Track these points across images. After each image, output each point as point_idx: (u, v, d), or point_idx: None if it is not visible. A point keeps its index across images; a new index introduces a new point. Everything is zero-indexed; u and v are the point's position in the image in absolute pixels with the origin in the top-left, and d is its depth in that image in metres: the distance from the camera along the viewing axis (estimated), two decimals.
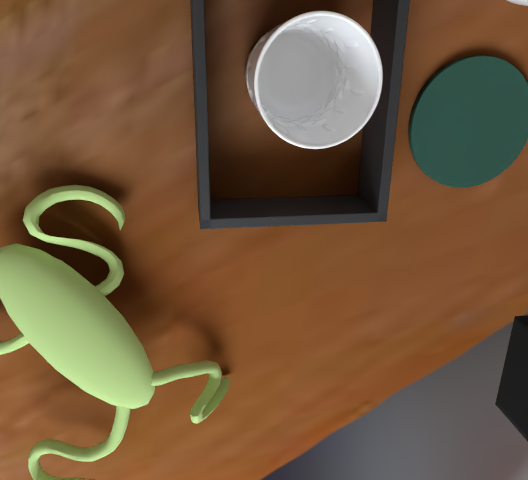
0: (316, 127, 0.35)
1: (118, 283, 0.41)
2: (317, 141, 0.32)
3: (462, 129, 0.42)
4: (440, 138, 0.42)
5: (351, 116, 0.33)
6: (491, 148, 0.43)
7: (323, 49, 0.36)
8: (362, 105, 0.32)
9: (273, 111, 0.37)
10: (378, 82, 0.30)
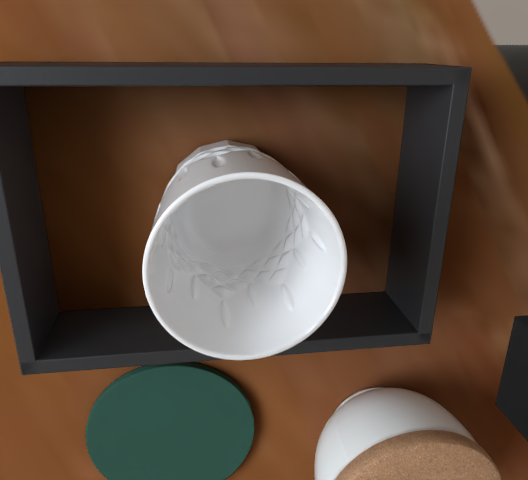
0: (167, 259, 0.23)
1: None
2: (153, 275, 0.19)
3: (165, 425, 0.33)
4: (151, 402, 0.32)
5: (191, 315, 0.22)
6: (142, 463, 0.33)
7: (266, 249, 0.27)
8: (210, 331, 0.21)
9: None
10: (248, 354, 0.20)
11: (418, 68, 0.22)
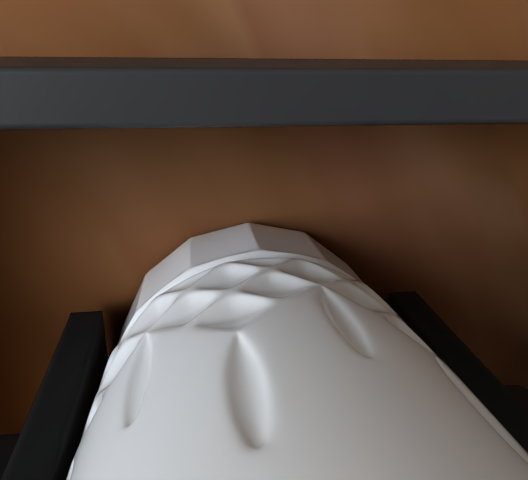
0: None
1: None
2: None
3: None
4: None
5: None
6: None
7: None
8: None
9: None
10: None
11: None
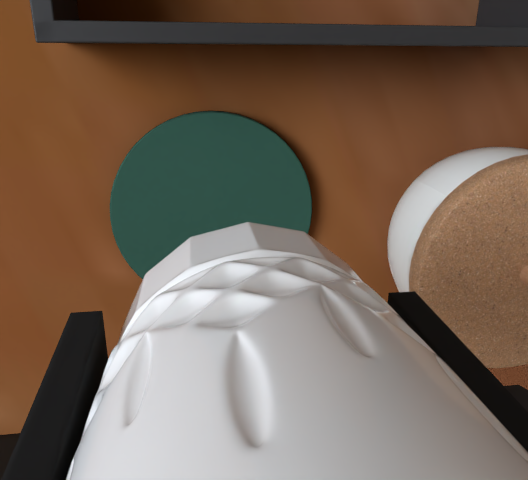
0: None
1: None
2: None
3: (206, 199, 0.27)
4: (190, 164, 0.26)
5: None
6: None
7: None
8: None
9: None
10: None
11: None
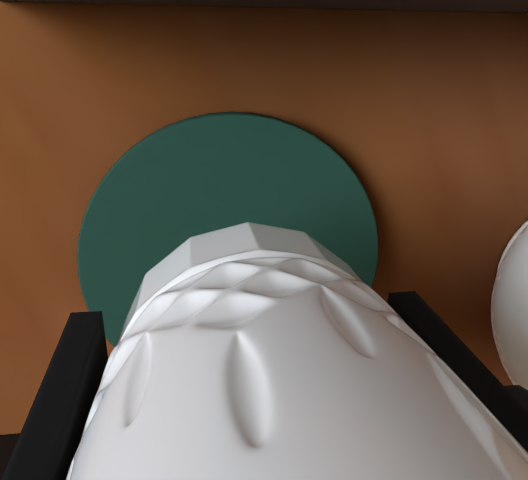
0: None
1: None
2: None
3: None
4: (200, 194, 0.17)
5: None
6: None
7: None
8: None
9: None
10: None
11: None
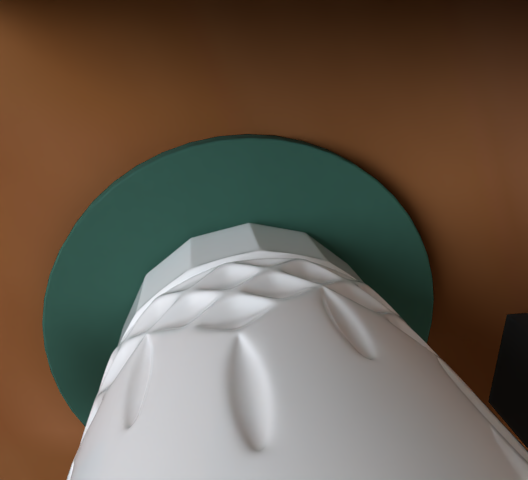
0: None
1: None
2: None
3: None
4: None
5: None
6: None
7: None
8: None
9: None
10: None
11: None
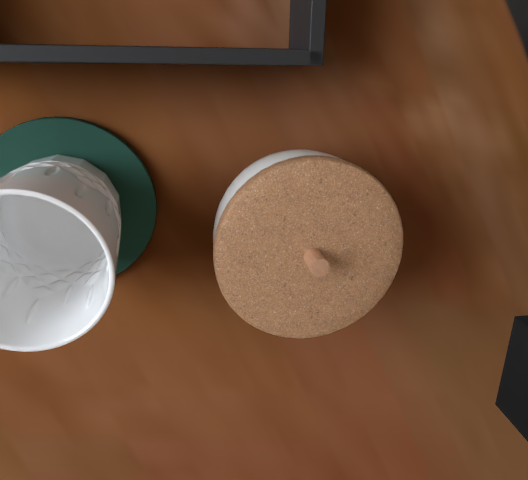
0: None
1: None
2: None
3: None
4: None
5: None
6: None
7: (95, 252, 0.30)
8: (8, 326, 0.24)
9: (6, 197, 0.28)
10: (35, 346, 0.23)
11: None
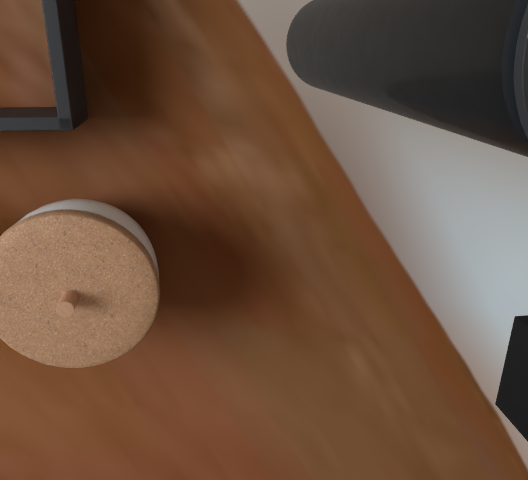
0: None
1: None
2: None
3: None
4: None
5: None
6: None
7: None
8: None
9: None
10: None
11: None
